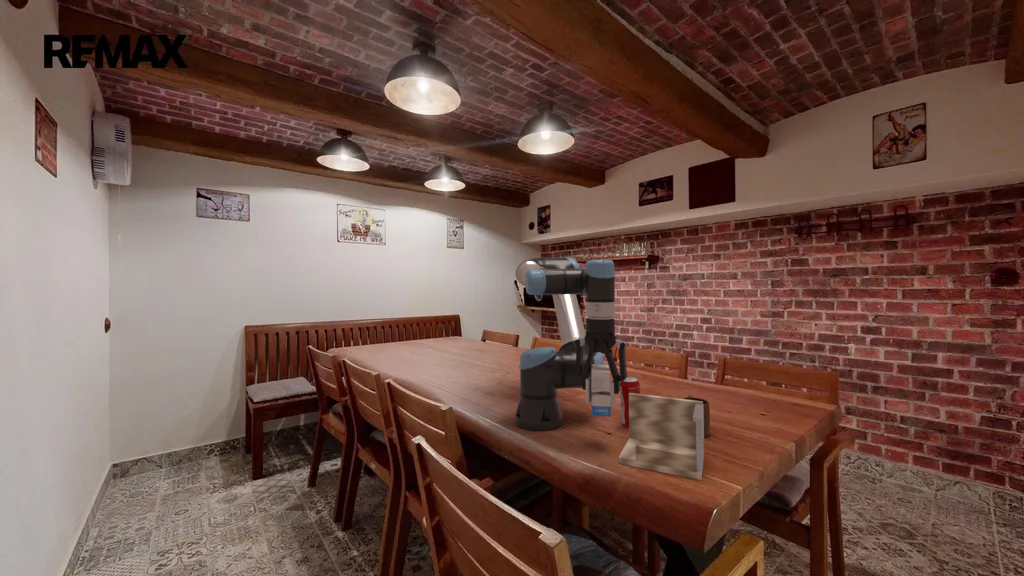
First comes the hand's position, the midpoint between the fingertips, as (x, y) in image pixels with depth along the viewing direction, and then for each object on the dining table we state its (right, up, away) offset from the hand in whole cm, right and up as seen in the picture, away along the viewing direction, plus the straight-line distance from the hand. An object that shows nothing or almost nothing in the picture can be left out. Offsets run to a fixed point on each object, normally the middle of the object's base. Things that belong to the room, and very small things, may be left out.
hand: (600, 403), depth 102 cm
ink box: (0, -2, 0) cm, 2 cm away
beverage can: (+12, -12, +13) cm, 22 cm away
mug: (+30, -11, +11) cm, 34 cm away
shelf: (+13, -11, -8) cm, 19 cm away
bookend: (+21, -10, -12) cm, 26 cm away
